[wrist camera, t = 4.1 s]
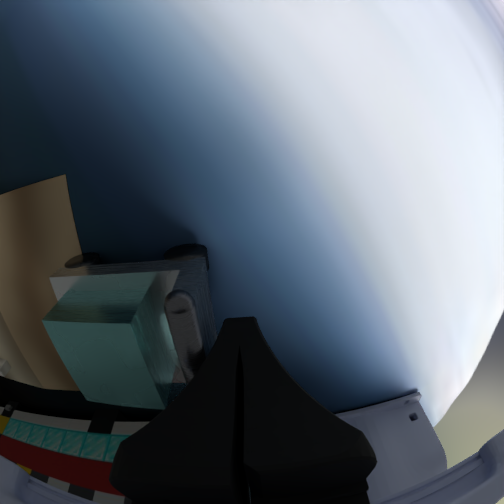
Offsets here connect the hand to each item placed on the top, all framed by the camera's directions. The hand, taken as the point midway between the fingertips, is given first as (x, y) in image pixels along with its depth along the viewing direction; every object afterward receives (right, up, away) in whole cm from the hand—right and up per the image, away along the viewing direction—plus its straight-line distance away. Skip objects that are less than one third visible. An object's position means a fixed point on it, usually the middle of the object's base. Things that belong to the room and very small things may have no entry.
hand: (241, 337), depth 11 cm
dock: (-17, 0, +3) cm, 18 cm away
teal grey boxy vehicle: (-5, +1, +3) cm, 6 cm away
